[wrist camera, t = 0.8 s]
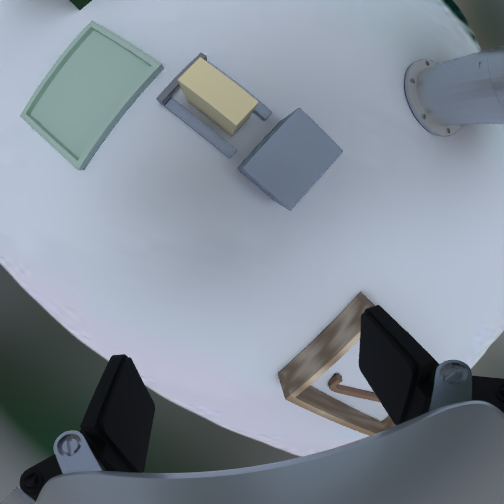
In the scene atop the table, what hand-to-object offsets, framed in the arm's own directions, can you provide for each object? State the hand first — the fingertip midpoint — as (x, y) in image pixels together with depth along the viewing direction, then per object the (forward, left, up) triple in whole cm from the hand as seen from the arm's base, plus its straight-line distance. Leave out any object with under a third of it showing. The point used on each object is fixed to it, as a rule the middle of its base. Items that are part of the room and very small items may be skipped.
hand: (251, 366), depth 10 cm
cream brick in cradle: (-10, -10, -26) cm, 29 cm away
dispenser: (-10, -7, -26) cm, 28 cm away
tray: (-2, -26, -26) cm, 37 cm away
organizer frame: (+4, +38, -26) cm, 46 cm away
